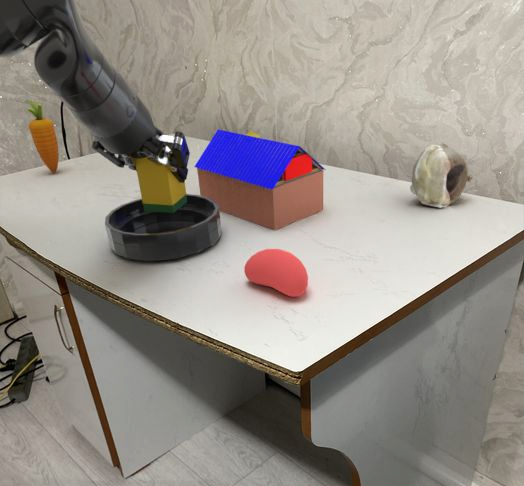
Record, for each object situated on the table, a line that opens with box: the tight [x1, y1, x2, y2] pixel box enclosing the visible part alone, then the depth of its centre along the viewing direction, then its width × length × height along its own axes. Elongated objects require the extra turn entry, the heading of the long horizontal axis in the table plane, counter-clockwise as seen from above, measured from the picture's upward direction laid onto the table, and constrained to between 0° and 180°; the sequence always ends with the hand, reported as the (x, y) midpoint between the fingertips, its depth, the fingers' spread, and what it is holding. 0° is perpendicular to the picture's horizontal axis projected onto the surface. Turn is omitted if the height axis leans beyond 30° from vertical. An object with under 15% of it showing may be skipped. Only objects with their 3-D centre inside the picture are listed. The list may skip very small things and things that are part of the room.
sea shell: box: [410, 142, 474, 209], centre depth 88 cm, size 9×8×10 cm
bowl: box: [104, 193, 223, 262], centre depth 83 cm, size 17×17×4 cm
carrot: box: [26, 99, 60, 173], centre depth 116 cm, size 5×5×15 cm
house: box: [194, 129, 327, 231], centre depth 91 cm, size 12×20×12 cm, turn 42°
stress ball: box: [243, 248, 309, 298], centre depth 68 cm, size 5×9×6 cm, turn 36°
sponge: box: [136, 155, 187, 213], centre depth 81 cm, size 5×5×8 cm
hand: (166, 176), depth 82 cm, fingers closed on sponge, 5 cm apart
